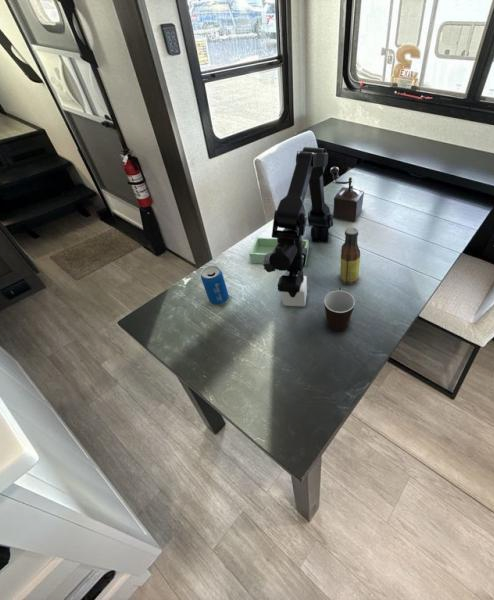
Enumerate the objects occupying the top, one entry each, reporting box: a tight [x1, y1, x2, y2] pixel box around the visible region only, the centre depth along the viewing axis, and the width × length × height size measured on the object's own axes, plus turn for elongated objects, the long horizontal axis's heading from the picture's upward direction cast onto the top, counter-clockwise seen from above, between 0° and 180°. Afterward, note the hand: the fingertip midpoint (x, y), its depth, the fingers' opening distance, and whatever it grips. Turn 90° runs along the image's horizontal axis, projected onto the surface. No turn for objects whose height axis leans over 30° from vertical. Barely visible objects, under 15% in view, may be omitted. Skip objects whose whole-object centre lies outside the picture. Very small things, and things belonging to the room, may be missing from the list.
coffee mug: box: [323, 286, 356, 333], centre depth 92 cm, size 12×9×10 cm
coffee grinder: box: [329, 166, 365, 222], centre depth 132 cm, size 16×11×18 cm
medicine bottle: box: [281, 269, 308, 307], centre depth 98 cm, size 7×7×12 cm
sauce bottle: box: [339, 226, 361, 285], centre depth 101 cm, size 7×6×20 cm
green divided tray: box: [249, 236, 310, 267], centre depth 117 cm, size 11×20×4 cm, turn 83°
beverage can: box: [200, 265, 230, 306], centre depth 99 cm, size 6×6×12 cm
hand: (294, 288), depth 99 cm, fingers closed on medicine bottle, 7 cm apart
